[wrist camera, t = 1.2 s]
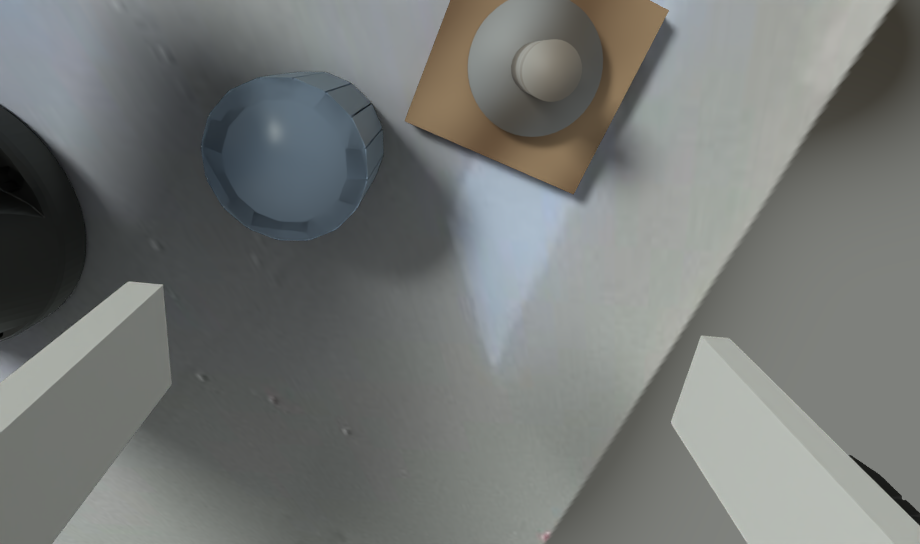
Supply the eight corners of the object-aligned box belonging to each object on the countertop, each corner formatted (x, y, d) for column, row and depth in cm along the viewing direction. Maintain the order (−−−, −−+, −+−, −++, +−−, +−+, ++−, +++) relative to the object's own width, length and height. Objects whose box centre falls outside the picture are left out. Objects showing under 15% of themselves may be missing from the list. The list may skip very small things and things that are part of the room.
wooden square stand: (406, 118, 29) (394, 136, 23) (481, -80, 26) (492, -123, 19) (569, 189, 31) (600, 224, 25) (659, 12, 27) (723, 0, 21)
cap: (237, 174, 30) (185, 205, 24) (273, 48, 28) (224, 47, 22) (358, 222, 31) (337, 262, 25) (402, 105, 29) (390, 119, 23)
